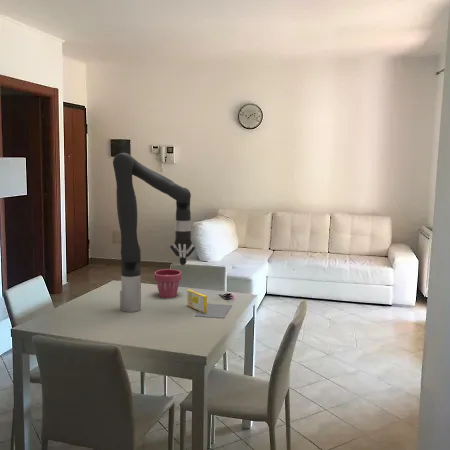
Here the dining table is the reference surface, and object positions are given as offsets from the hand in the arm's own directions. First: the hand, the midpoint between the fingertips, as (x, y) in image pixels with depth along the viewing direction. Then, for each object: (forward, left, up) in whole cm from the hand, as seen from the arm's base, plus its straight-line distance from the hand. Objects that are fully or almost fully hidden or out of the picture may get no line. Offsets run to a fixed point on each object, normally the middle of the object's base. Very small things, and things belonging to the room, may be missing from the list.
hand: (183, 264), depth 244 cm
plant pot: (-14, +20, -22) cm, 33 cm away
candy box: (+7, 0, -22) cm, 23 cm away
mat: (+15, 0, -22) cm, 27 cm away
